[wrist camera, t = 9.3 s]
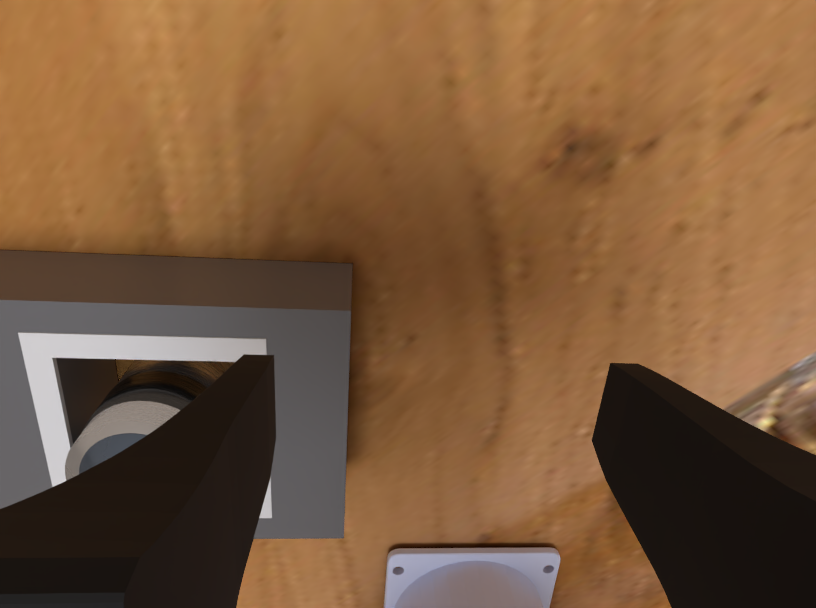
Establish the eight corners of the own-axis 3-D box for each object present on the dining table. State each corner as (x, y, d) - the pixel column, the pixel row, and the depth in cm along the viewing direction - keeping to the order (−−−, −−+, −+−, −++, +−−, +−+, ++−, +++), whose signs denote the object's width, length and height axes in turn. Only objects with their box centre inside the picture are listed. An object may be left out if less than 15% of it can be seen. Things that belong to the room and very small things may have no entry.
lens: (245, 422, 24) (208, 538, 18) (138, 411, 23) (66, 528, 18) (252, 330, 22) (212, 428, 16) (137, 317, 21) (57, 413, 16)
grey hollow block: (346, 464, 25) (343, 539, 21) (45, 462, 24) (-13, 541, 20) (352, 263, 21) (351, 311, 17) (-4, 249, 20) (-86, 297, 16)
